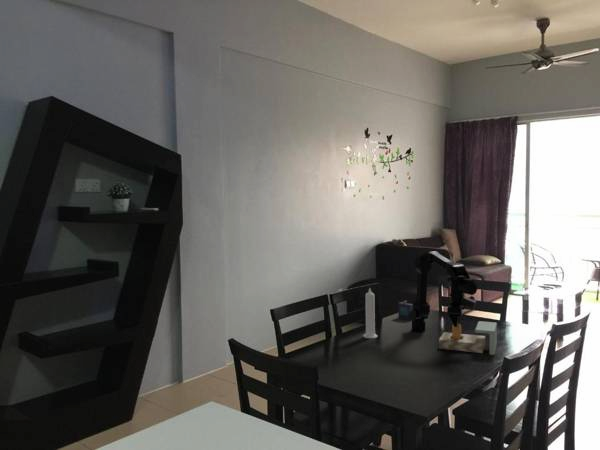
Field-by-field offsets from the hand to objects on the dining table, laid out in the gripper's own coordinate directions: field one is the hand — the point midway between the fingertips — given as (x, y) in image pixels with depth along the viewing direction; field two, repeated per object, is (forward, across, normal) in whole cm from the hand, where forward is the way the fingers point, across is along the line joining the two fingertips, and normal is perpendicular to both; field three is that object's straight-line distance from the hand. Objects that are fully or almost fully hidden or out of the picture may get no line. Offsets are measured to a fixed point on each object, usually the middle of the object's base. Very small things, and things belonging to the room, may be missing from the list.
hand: (457, 324), depth 233 cm
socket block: (+10, 0, -2) cm, 10 cm away
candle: (+10, 0, +42) cm, 43 cm away
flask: (+10, +42, +34) cm, 55 cm away
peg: (+10, 0, 0) cm, 10 cm away
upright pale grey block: (+10, 0, -13) cm, 16 cm away
